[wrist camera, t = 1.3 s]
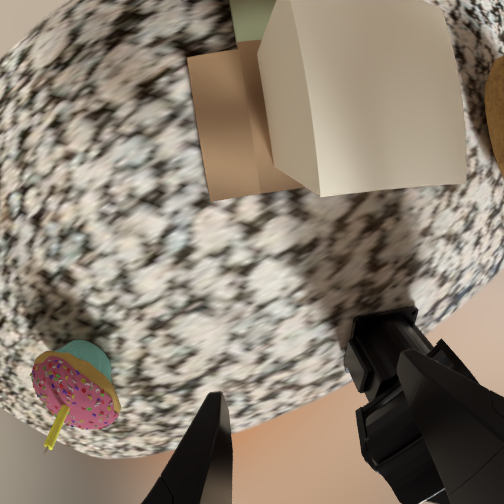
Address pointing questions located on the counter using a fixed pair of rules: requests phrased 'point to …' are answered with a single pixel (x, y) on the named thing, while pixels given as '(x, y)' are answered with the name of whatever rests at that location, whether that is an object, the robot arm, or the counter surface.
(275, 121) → the block
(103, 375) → the cupcake
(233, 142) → the lane board
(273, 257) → the counter surface
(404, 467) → the robot arm
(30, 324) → the counter surface
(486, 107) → the potato
